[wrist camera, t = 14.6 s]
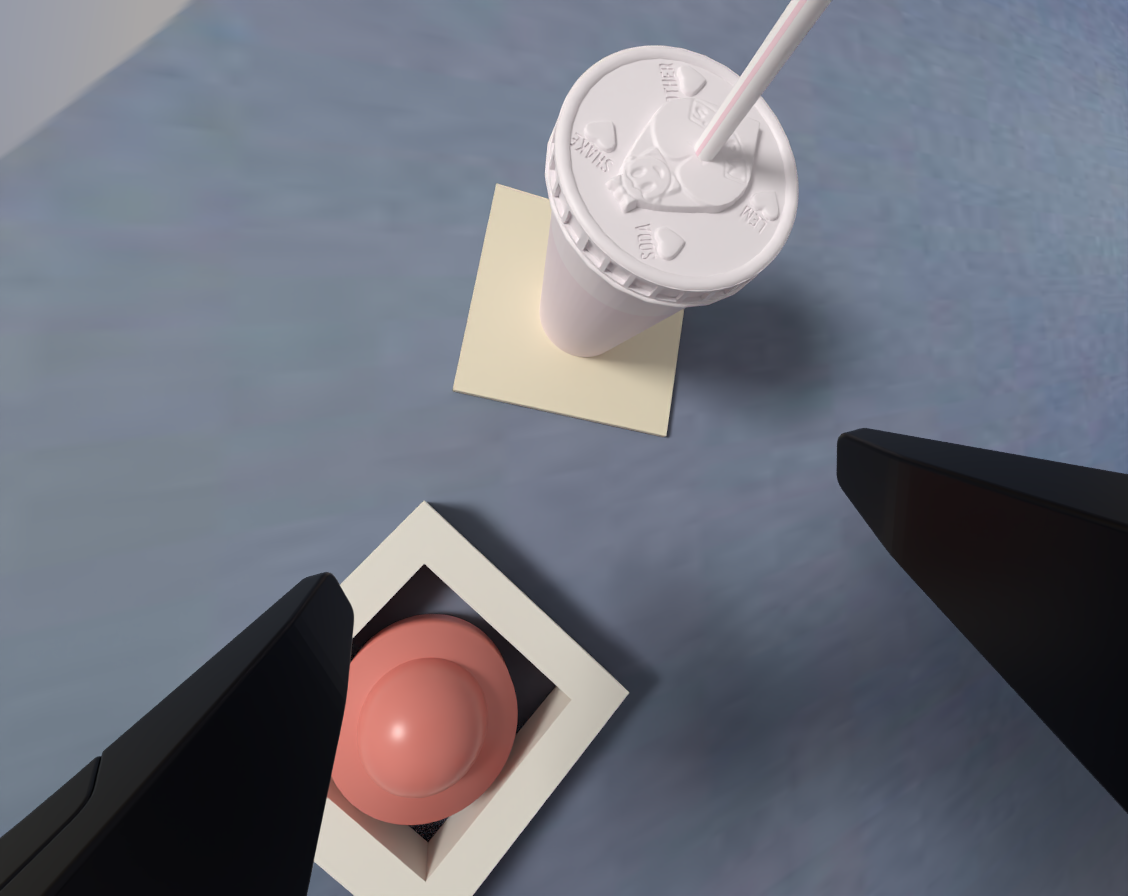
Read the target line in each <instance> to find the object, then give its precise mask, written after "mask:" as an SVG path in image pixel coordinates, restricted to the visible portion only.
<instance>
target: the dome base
mask: <svg viewBox="0 0 1128 896" xmlns="http://www.w3.org/2000/svg"><path fill="white" fill-rule="evenodd" d="M423 564H425V565H426V566H427V567H428V568H430V569H431V570H432V571H433V572H434V573H435V574H436V575H437V576H438V577H439V578H440V579H441V580H443V581H444V582H445V583H446V584H447V585H448V586H449V587H450V588H451V589H452V590H453V591H454V592H456V593H457V594H458V595H459V596H460V597H461V598H462V599H463V600H464V601H465V602H466V603H467V604H469V605H470V606H471V607H472V608H473V609H474V610H475V611H476V612H477V613H478V614H479V615H480V616H482V617H483V618H484V619H485V620H486V621H487V622H488V623H489V624H490V625H491V626H492V627H493V628H495V629H496V630H497V631H498V632H499V633H500V634H501V635H502V636H503V637H504V638H505V639H506V640H508V641H509V642H510V643H511V644H512V645H513V646H514V647H515V648H516V649H517V650H518V651H519V652H521V653H522V654H523V655H524V656H525V657H526V658H527V659H528V660H529V661H530V662H531V663H532V664H534V665H535V666H536V667H537V668H538V669H539V670H540V671H541V672H542V673H543V674H544V675H545V676H547V677H548V678H549V679H550V680H551V681H552V682H553V683H554V684H555V685H556V686H555V688H554V689H553V690H552V691H551V693H550V694H549V695H548V696H547V697H546V699H545V700H544V701H543V702H542V704H541V705H540V706H539V707H538V709H537V710H536V711H535V712H534V713H533V715H532V716H531V717H530V718H529V720H528V721H527V722H526V723H525V724H524V726H523V727H522V728H521V729H520V731H519V732H518V733H517V734H516V735H515V739H514V743H513V746H512V749H511V752H510V754H509V757H508V759H507V761H506V763H505V765H504V767H503V768H502V770H501V772H500V774H499V775H498V776H497V778H496V779H495V781H494V782H493V783H492V784H491V786H490V787H489V788H488V789H487V790H486V791H485V792H484V793H483V794H482V795H481V796H480V797H479V798H478V799H476V800H475V801H474V802H473V803H472V804H470V805H469V806H467V807H466V808H464V809H463V810H461V811H459V812H457V813H455V814H453V815H452V816H449V817H448V819H447V820H446V821H445V822H444V824H443V825H442V826H441V827H440V828H439V830H438V831H437V832H436V833H435V835H434V836H433V837H432V838H431V839H430V841H429V842H427V841H426V840H425V839H423V838H422V837H421V836H420V835H419V834H418V833H417V832H415V831H414V830H413V829H412V828H411V827H410V826H408V825H398V824H392V823H387V822H384V821H381V820H378V819H375V818H373V817H371V816H369V815H367V814H365V813H363V812H362V811H360V810H359V809H358V808H356V807H355V806H354V805H352V804H351V803H350V802H349V801H348V800H347V799H346V798H345V797H344V796H343V794H342V793H341V791H340V790H339V789H338V787H337V786H336V784H335V782H334V780H333V778H332V776H331V780H330V785H329V790H328V794H327V799H326V804H325V809H324V814H323V819H322V824H321V829H320V833H319V838H318V843H317V848H316V853H315V858H314V862H315V863H316V864H318V865H319V866H320V867H321V868H322V869H324V870H325V871H326V872H327V873H328V874H329V875H331V876H332V877H333V878H334V879H335V880H337V881H338V882H339V883H340V884H341V885H342V886H344V887H345V888H346V889H347V890H348V891H350V892H351V893H352V894H353V895H354V896H473V894H474V893H475V892H476V890H477V889H478V888H479V887H480V885H481V884H482V883H483V881H484V880H485V879H486V878H487V876H488V875H489V874H490V872H491V871H492V870H493V868H494V867H495V866H496V865H497V863H498V862H499V861H500V859H501V858H502V857H503V856H504V854H505V853H506V852H507V850H508V849H509V848H510V846H511V845H512V844H513V843H514V841H515V840H516V839H517V837H518V836H519V835H520V834H521V832H522V831H523V830H524V828H525V827H526V826H527V824H528V823H529V822H530V821H531V819H532V818H533V817H534V815H535V814H536V813H537V812H538V810H539V809H540V808H541V806H542V805H543V804H544V802H545V801H546V800H547V799H548V797H549V796H550V795H551V793H552V792H553V791H554V790H555V788H556V787H557V786H558V784H559V783H560V782H561V780H562V779H563V778H564V777H565V775H566V774H567V773H568V771H569V770H570V769H571V768H572V766H573V765H574V764H575V762H576V761H577V760H578V758H579V757H580V756H581V755H582V753H583V752H584V751H585V749H586V748H587V747H588V746H589V744H590V743H591V742H592V740H593V739H594V738H595V736H596V735H597V734H598V733H599V731H600V730H601V729H602V727H603V726H604V725H605V724H606V722H607V721H608V720H609V718H610V717H611V716H612V714H613V713H614V712H615V711H616V709H617V708H618V707H619V705H620V704H621V703H622V702H623V700H624V699H625V698H626V696H627V695H628V694H629V692H628V691H627V690H626V689H625V688H624V687H623V686H622V685H621V684H620V683H619V682H618V681H617V680H616V679H615V678H614V677H613V676H612V675H611V674H610V673H609V672H608V671H607V670H606V669H605V668H604V667H603V666H601V665H600V664H599V663H598V662H597V661H596V660H595V659H594V658H593V657H592V656H591V655H590V654H589V653H588V652H586V651H585V650H584V649H583V648H582V647H581V646H580V645H579V644H578V643H577V642H576V641H575V640H574V639H573V638H572V637H570V636H569V635H568V634H567V633H566V632H565V631H564V630H563V629H562V628H561V627H560V626H559V625H558V624H557V623H555V622H554V621H553V620H552V619H551V618H550V617H549V616H548V615H547V614H546V613H545V612H544V611H543V610H542V609H541V608H539V607H538V606H537V605H536V604H535V603H534V602H533V601H532V600H531V599H530V598H529V597H528V596H527V595H526V594H525V593H523V592H522V591H521V590H520V589H519V588H518V587H517V586H516V585H515V584H514V583H513V582H512V581H511V580H510V579H508V578H507V577H506V576H505V575H504V574H503V573H502V572H501V571H500V570H499V569H498V568H497V567H496V566H495V565H494V564H492V563H491V562H490V561H489V560H488V559H487V558H486V557H485V556H484V555H483V554H482V553H481V552H480V551H479V550H477V549H476V548H475V547H474V546H473V545H472V544H471V543H470V542H469V541H468V540H467V539H466V538H465V537H464V536H463V535H461V534H460V533H459V532H458V531H457V530H456V529H455V528H454V527H453V526H452V525H451V524H450V523H449V522H448V521H447V520H445V519H444V518H443V517H442V516H441V515H440V514H439V513H438V512H437V511H436V510H435V509H434V508H433V507H432V506H430V505H429V504H428V503H427V502H426V501H423V502H422V503H421V504H420V505H419V506H418V507H417V508H416V509H415V510H414V511H413V512H412V513H411V514H410V515H409V516H408V517H407V518H406V519H405V520H404V521H403V522H402V523H401V524H400V525H399V526H398V527H397V528H396V529H395V530H394V531H393V532H392V533H391V534H390V535H389V536H388V537H387V538H386V539H385V540H384V541H383V542H382V543H381V544H380V545H379V546H378V547H377V548H376V549H375V550H374V551H373V552H372V553H371V554H370V555H369V556H368V557H367V558H366V559H365V560H364V561H363V562H362V563H361V564H360V565H359V566H358V567H357V568H356V569H355V570H354V571H353V572H352V573H351V574H350V575H349V576H348V577H347V578H346V580H345V581H344V582H343V583H342V584H341V585H340V586H341V588H342V590H343V591H344V593H345V595H346V597H347V598H348V600H349V602H350V603H351V606H352V608H353V612H354V627H353V637H354V636H355V635H356V634H357V633H358V632H359V631H360V630H361V629H362V628H363V627H364V626H365V625H366V624H367V623H368V622H369V621H370V620H371V619H372V618H373V617H374V615H375V614H376V613H377V612H378V611H379V610H380V609H381V608H382V607H383V606H384V605H385V604H386V603H387V602H388V601H389V600H390V599H391V598H392V597H393V596H394V595H395V594H396V593H397V591H398V590H399V589H400V588H401V587H402V586H403V585H404V584H405V583H406V582H407V581H408V580H409V579H410V578H411V577H412V576H413V575H414V574H415V573H416V572H417V571H418V570H419V568H420V567H421V566H422V565H423Z"/></svg>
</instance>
